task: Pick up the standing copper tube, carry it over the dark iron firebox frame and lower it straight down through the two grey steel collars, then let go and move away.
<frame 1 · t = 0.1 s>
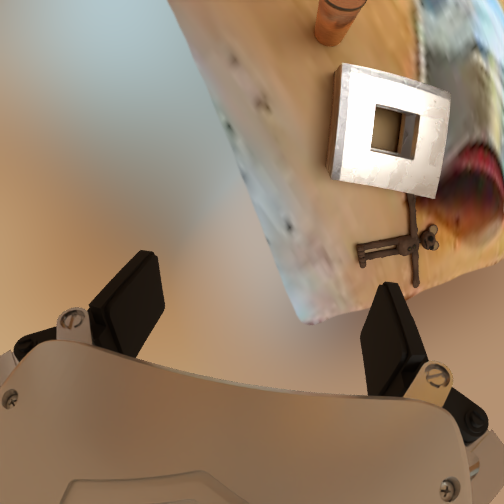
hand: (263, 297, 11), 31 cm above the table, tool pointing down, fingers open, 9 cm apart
firebox: (378, 127, 33), on the table
bear figurine: (397, 241, 42), on the table
tube: (328, 34, 28), on the table
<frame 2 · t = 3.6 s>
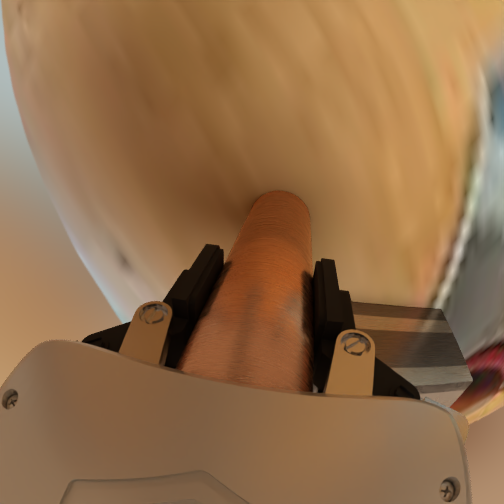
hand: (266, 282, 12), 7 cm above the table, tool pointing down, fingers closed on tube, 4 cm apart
firebox: (348, 360, 24), on the table
tube: (279, 219, 18), on the table, touching gripper
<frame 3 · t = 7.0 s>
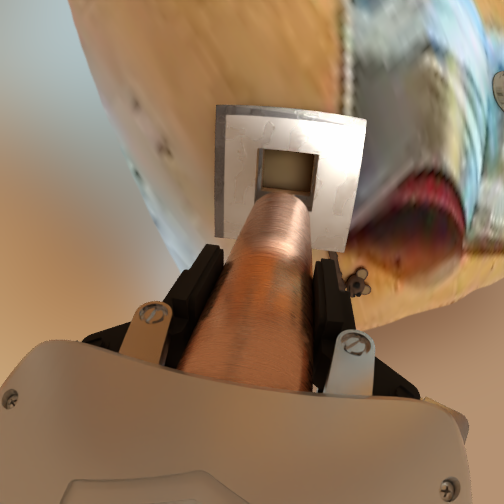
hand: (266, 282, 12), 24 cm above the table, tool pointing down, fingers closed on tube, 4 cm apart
firebox: (288, 164, 33), on the table
bear figurine: (321, 285, 41), on the table
tube: (279, 220, 18), point 17 cm above the table, touching gripper
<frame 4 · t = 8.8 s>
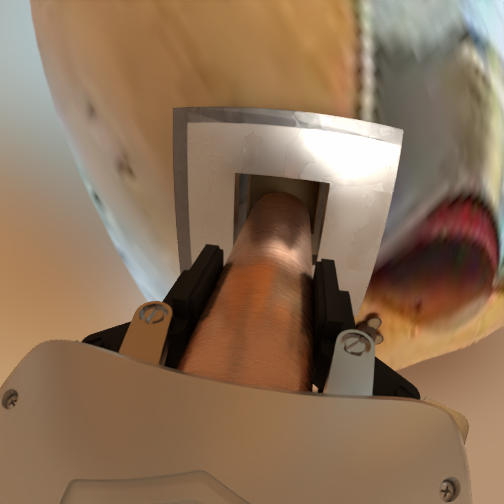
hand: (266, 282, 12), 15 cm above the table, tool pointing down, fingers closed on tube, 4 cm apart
firebox: (285, 187, 25), on the table
bear figurine: (323, 332, 33), on the table
tube: (279, 220, 18), point 7 cm above the table, touching gripper
when the fingers open (9 cm above the table, at t = 10.3 s): tube drops 2 cm, on the table.
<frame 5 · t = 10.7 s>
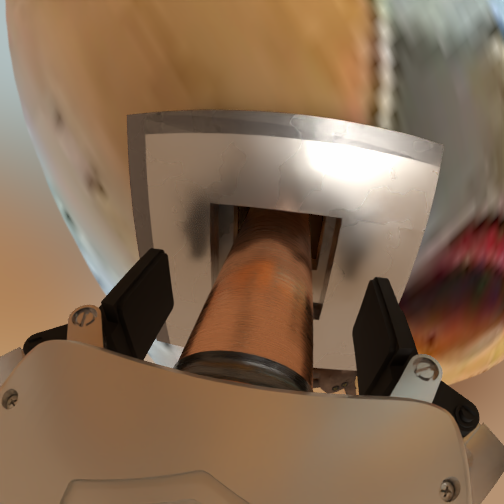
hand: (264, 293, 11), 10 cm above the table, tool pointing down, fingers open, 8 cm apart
firebox: (281, 209, 20), on the table
bear figurine: (324, 367, 28), on the table
tube: (280, 209, 20), on the table
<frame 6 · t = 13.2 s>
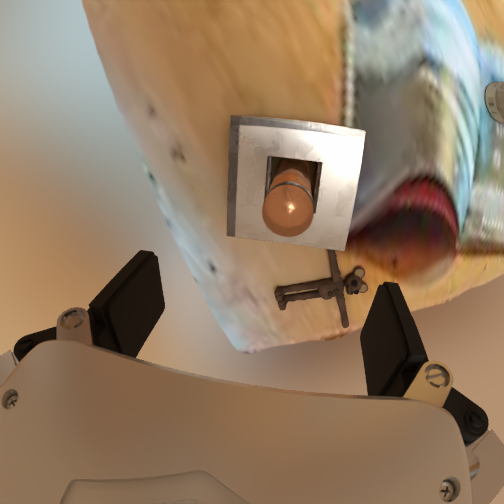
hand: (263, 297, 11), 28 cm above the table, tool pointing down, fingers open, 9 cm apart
firebox: (294, 170, 36), on the table
bear figurine: (321, 283, 44), on the table
tube: (293, 170, 36), on the table
spray can: (497, 102, 24), on the table
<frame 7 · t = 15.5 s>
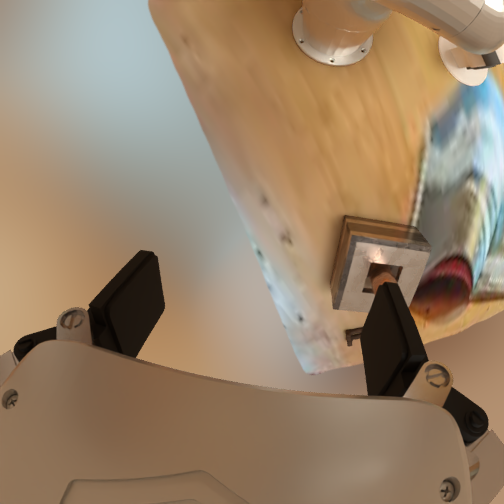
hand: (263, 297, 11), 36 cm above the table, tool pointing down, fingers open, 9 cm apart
firebox: (373, 255, 48), on the table
tube: (372, 255, 48), on the table
panda figurine: (462, 56, 27), on the table
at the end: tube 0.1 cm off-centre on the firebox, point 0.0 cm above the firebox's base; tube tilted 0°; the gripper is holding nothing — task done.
